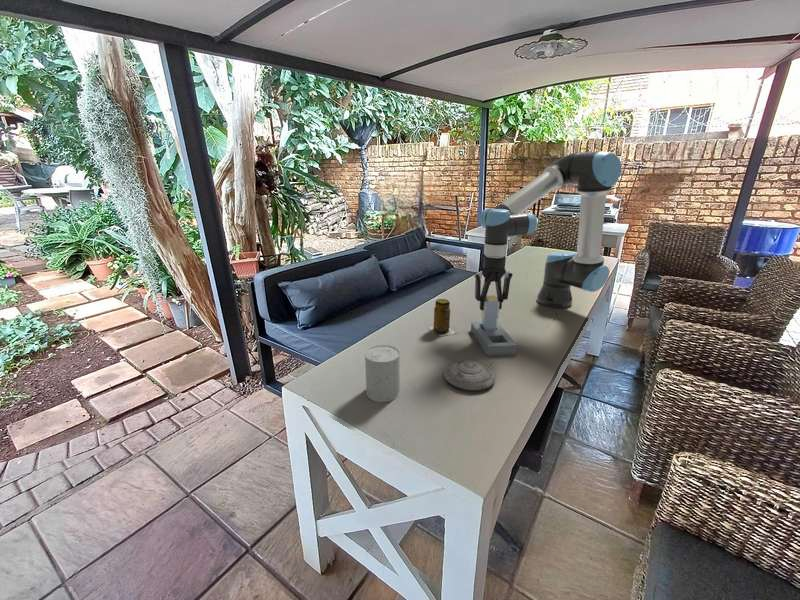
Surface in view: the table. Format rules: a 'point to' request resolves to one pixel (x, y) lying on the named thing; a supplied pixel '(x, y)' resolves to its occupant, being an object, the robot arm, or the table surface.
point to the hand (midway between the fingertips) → (489, 317)
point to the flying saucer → (469, 375)
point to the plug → (490, 313)
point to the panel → (494, 340)
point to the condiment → (442, 318)
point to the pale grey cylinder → (382, 373)
